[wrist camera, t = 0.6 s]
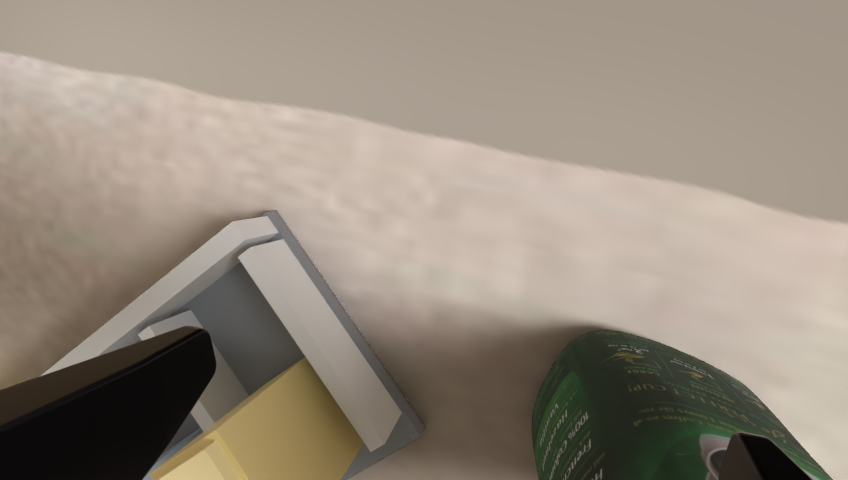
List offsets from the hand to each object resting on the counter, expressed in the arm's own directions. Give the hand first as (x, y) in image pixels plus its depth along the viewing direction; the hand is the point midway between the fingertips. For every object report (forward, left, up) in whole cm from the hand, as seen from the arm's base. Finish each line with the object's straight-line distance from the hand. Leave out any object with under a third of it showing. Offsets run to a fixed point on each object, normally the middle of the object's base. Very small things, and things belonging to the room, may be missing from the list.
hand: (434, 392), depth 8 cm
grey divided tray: (-19, +1, -16) cm, 25 cm away
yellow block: (-12, -1, -14) cm, 19 cm away
